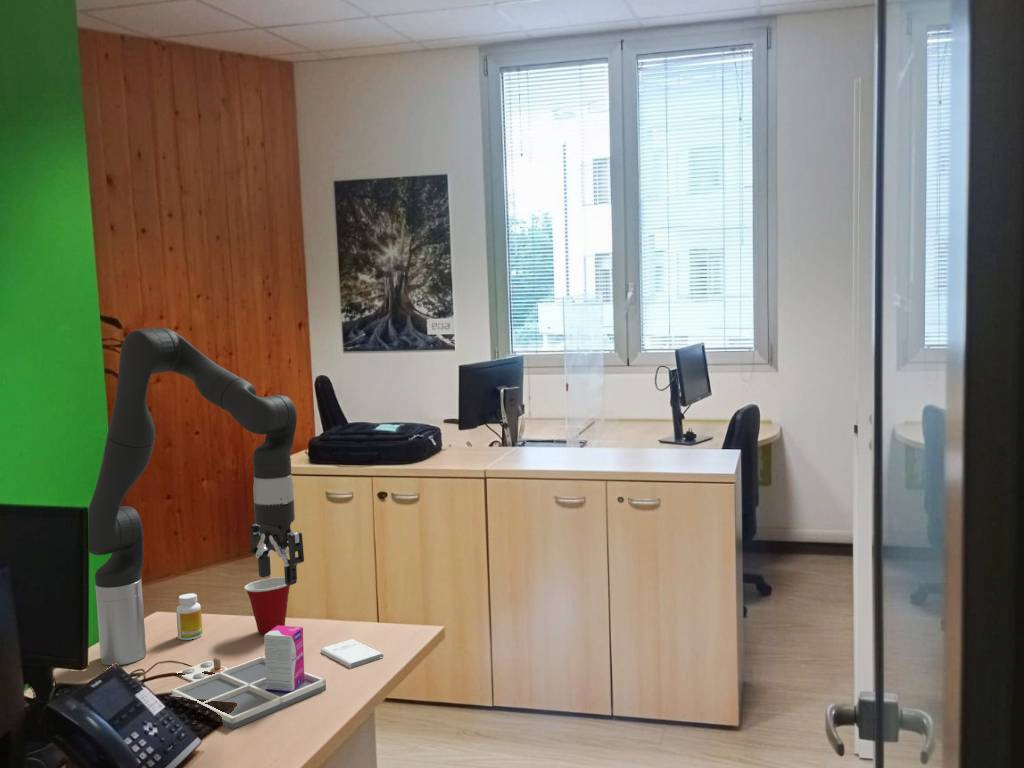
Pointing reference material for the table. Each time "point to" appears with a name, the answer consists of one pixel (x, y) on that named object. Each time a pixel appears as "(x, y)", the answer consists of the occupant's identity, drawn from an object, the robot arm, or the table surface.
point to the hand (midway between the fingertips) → (277, 580)
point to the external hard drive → (351, 653)
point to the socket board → (246, 692)
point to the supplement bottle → (189, 617)
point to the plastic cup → (268, 602)
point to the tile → (202, 670)
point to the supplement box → (284, 659)
